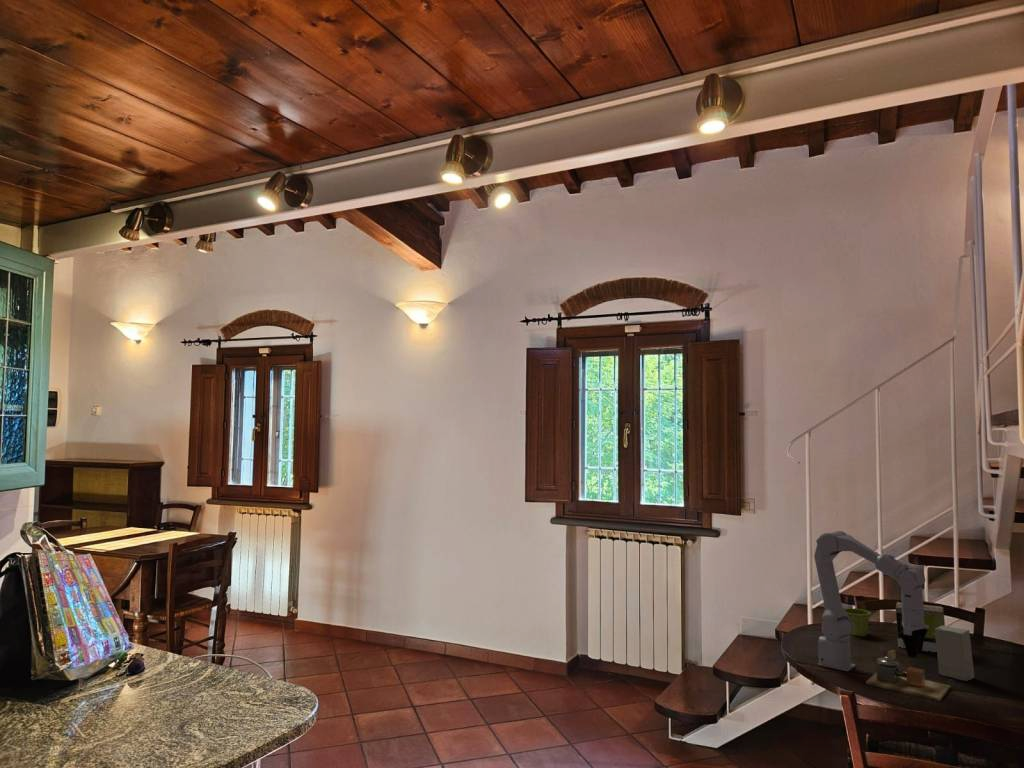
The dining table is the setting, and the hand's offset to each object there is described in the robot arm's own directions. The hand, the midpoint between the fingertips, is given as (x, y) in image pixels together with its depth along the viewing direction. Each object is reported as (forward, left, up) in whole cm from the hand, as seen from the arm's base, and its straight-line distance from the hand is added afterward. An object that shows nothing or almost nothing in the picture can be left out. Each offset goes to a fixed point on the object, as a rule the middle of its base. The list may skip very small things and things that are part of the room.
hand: (914, 654), depth 202 cm
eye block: (-8, 0, -10) cm, 12 cm away
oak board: (-2, 0, -10) cm, 10 cm away
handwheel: (-7, +1, -4) cm, 9 cm away
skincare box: (+6, +20, -10) cm, 23 cm away
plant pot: (-31, +48, -10) cm, 58 cm away
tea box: (-9, +46, -10) cm, 48 cm away
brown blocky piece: (-4, 0, -9) cm, 10 cm away
